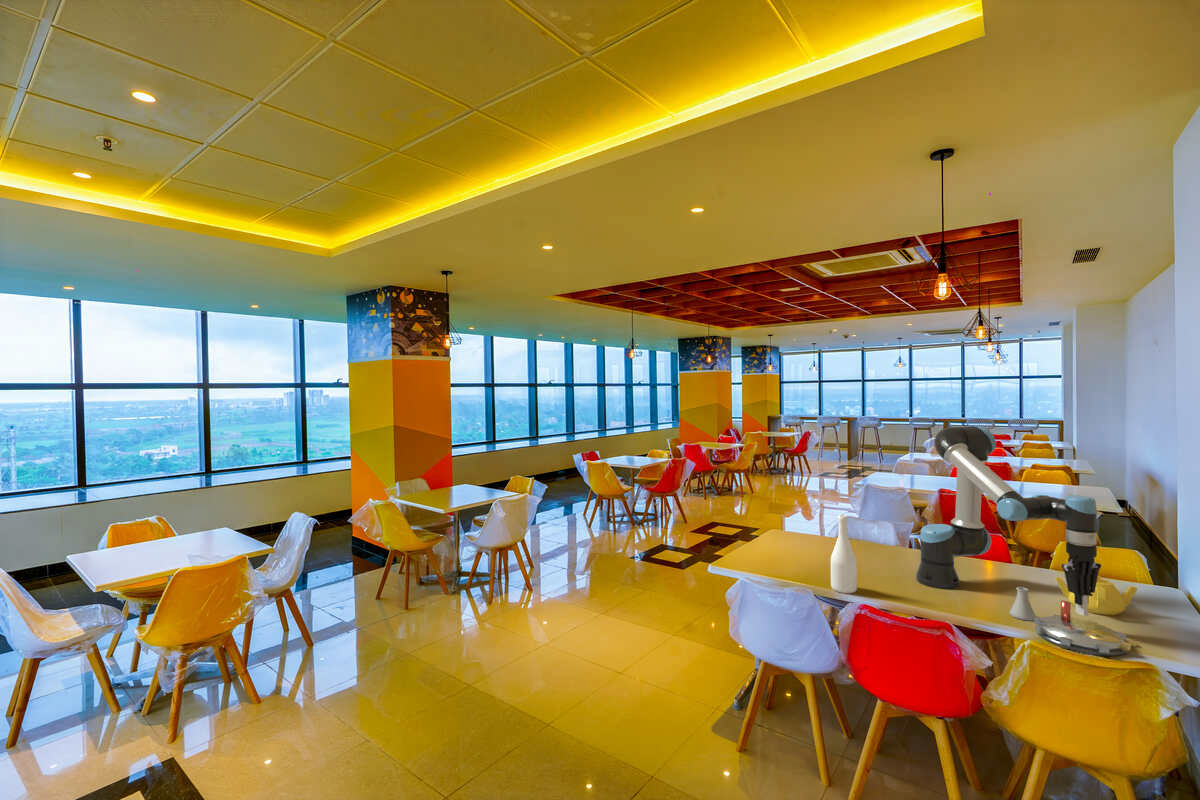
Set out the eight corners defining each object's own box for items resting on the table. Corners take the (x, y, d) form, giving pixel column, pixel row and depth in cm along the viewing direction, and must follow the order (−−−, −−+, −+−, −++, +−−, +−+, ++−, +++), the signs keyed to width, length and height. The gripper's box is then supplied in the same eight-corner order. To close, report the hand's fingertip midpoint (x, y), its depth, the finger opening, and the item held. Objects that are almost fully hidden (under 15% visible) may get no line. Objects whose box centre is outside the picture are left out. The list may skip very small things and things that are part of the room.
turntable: (1058, 649, 157) (1058, 622, 157) (1018, 617, 180) (1018, 594, 179) (1151, 657, 152) (1151, 630, 152) (1098, 623, 174) (1098, 599, 174)
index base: (1060, 652, 158) (1060, 648, 158) (1022, 622, 178) (1022, 619, 178) (1160, 661, 152) (1160, 657, 152) (1109, 629, 173) (1109, 625, 172)
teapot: (1104, 620, 180) (1103, 585, 180) (1052, 601, 196) (1051, 569, 196) (1139, 614, 184) (1139, 580, 184) (1085, 597, 200) (1085, 565, 200)
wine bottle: (860, 589, 211) (859, 515, 211) (852, 596, 204) (851, 519, 204) (835, 583, 218) (834, 511, 218) (827, 590, 211) (826, 515, 211)
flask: (1004, 613, 186) (1004, 585, 186) (1023, 612, 187) (1022, 584, 187) (1022, 622, 179) (1022, 593, 179) (1041, 620, 180) (1041, 592, 180)
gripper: (1076, 547, 169) (1076, 620, 169) (1110, 545, 171) (1110, 617, 171) (1052, 541, 176) (1053, 610, 176) (1085, 538, 178) (1086, 607, 178)
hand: (1081, 613), depth 173 cm, fingers closed
